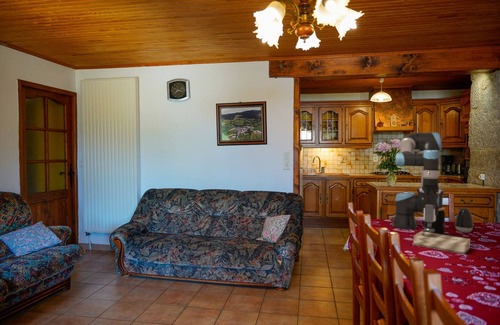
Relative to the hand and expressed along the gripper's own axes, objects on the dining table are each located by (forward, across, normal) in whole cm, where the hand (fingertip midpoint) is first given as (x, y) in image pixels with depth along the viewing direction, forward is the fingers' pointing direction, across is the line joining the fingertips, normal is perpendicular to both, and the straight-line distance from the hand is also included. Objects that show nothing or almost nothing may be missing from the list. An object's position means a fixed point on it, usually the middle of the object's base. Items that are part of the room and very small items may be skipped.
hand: (429, 220), depth 182 cm
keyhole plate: (+14, +6, 0) cm, 15 cm away
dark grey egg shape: (+14, +8, +47) cm, 50 cm away
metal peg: (+6, 0, 0) cm, 6 cm away
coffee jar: (+14, -2, +18) cm, 23 cm away
